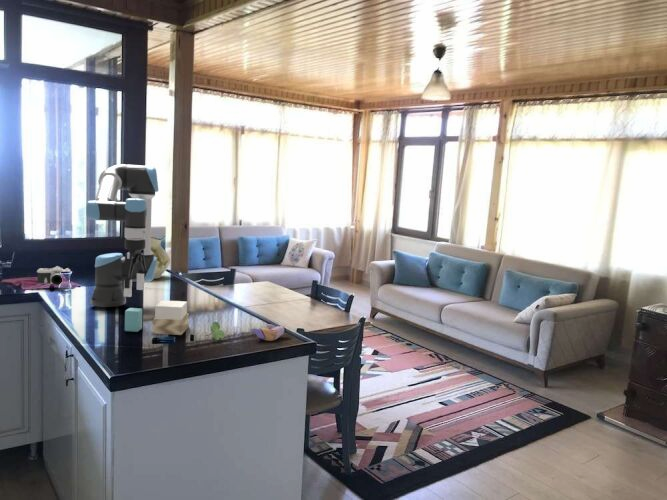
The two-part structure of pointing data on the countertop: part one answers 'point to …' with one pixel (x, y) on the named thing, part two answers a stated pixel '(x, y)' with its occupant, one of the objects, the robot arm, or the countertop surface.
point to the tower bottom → (170, 326)
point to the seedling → (214, 329)
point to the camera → (51, 275)
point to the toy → (269, 332)
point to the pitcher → (159, 257)
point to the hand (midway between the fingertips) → (134, 293)
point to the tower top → (171, 310)
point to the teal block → (133, 319)
